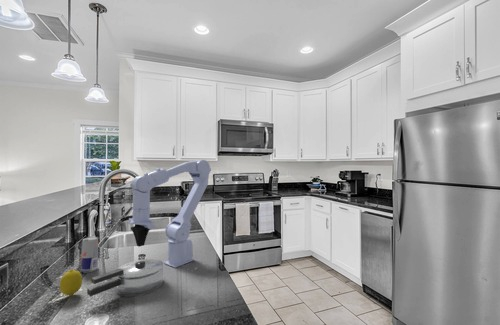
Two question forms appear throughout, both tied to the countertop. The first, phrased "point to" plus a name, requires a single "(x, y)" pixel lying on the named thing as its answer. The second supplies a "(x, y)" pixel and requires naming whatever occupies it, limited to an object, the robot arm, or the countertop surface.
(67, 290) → the lemon
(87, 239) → the energy drink
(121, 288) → the pot
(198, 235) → the countertop surface
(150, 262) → the lid
